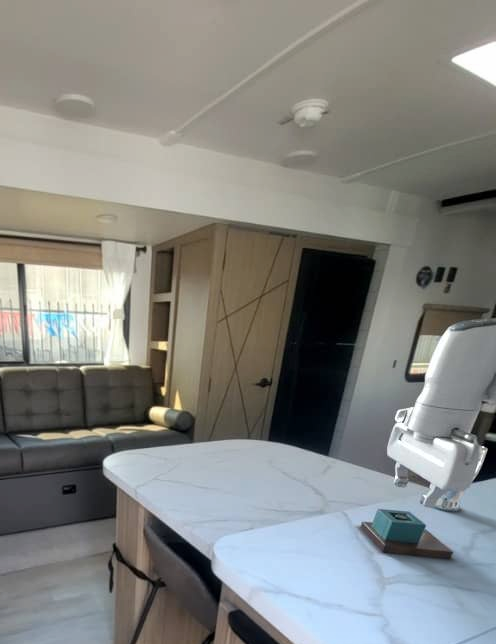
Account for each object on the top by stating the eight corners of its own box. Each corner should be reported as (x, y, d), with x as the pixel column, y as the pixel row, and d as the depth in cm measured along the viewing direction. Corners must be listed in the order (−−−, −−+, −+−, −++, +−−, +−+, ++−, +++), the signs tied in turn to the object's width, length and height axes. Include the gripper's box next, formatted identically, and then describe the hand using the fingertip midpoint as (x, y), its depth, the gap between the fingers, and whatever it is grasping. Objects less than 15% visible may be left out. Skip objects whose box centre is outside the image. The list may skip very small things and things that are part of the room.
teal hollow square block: (402, 529, 82) (409, 511, 80) (418, 543, 77) (426, 525, 75) (371, 526, 83) (377, 508, 81) (385, 540, 77) (392, 521, 76)
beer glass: (433, 509, 96) (459, 448, 89) (420, 498, 102) (444, 440, 95) (466, 514, 94) (496, 452, 88) (451, 502, 100) (478, 443, 94)
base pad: (420, 533, 84) (430, 509, 82) (450, 558, 75) (462, 532, 73) (360, 527, 85) (368, 504, 83) (382, 552, 76) (392, 526, 74)
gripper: (505, 439, 60) (466, 521, 66) (426, 411, 79) (402, 477, 85) (459, 436, 61) (425, 518, 67) (392, 409, 79) (370, 475, 85)
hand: (412, 495), depth 76 cm, fingers open, 8 cm apart
